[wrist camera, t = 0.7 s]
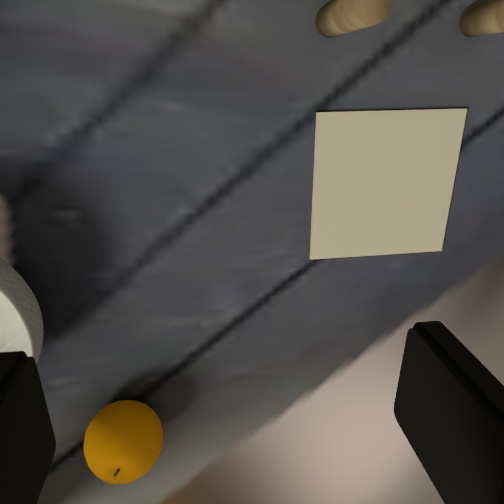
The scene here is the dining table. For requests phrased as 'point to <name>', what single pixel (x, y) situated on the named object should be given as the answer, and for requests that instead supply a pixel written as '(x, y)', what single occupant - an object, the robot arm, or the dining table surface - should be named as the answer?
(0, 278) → the cereal bowl
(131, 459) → the orange round fruit
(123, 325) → the dining table surface
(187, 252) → the dining table surface
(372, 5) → the post
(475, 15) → the post
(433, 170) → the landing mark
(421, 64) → the dining table surface
